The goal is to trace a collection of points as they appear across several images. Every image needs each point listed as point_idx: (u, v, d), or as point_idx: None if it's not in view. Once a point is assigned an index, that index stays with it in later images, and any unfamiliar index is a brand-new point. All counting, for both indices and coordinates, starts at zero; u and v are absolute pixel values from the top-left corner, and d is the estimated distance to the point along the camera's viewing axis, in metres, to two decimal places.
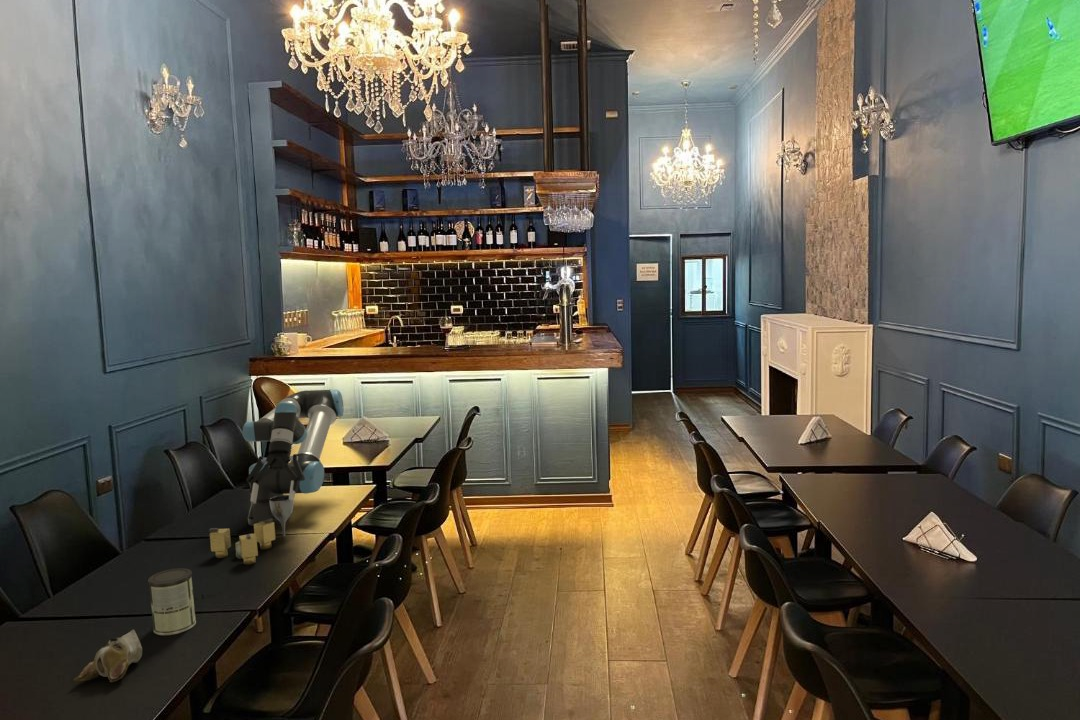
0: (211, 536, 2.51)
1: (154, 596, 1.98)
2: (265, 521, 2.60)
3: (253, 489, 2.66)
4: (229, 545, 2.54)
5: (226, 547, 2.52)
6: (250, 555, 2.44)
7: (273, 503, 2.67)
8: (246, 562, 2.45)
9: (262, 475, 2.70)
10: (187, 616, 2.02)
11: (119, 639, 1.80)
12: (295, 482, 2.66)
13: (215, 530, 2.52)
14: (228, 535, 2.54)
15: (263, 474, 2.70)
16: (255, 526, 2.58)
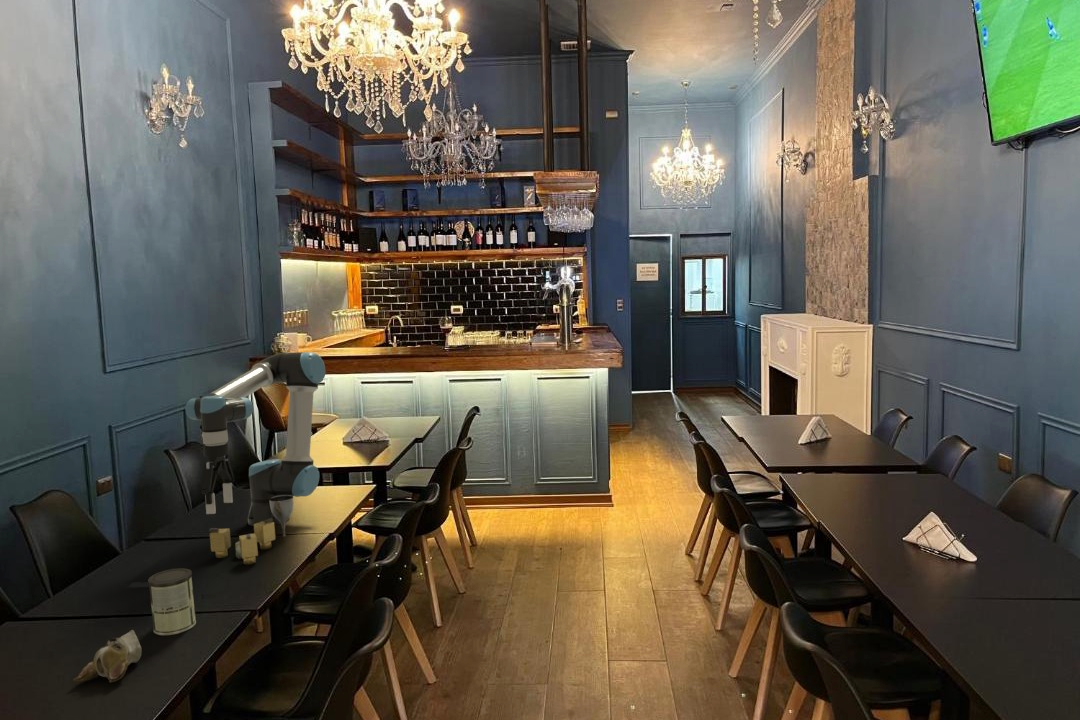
0: (211, 536, 2.51)
1: (154, 596, 1.98)
2: (265, 521, 2.60)
3: None
4: (229, 545, 2.54)
5: (226, 547, 2.52)
6: (250, 555, 2.44)
7: (273, 503, 2.67)
8: (246, 562, 2.45)
9: (223, 475, 2.57)
10: (187, 616, 2.02)
11: (118, 639, 1.80)
12: None
13: (215, 530, 2.52)
14: (228, 535, 2.54)
15: (223, 475, 2.56)
16: (255, 526, 2.58)
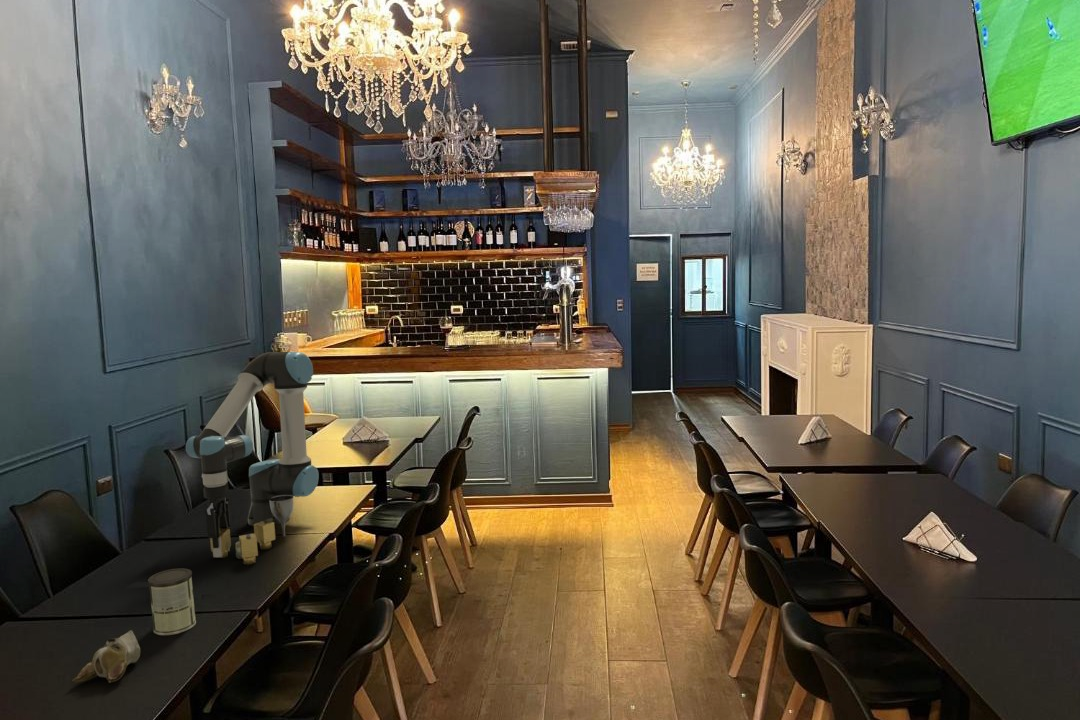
0: None
1: (154, 596, 1.98)
2: (265, 521, 2.60)
3: None
4: (229, 545, 2.54)
5: (226, 547, 2.52)
6: (250, 555, 2.44)
7: (273, 503, 2.67)
8: (246, 562, 2.45)
9: (221, 520, 2.55)
10: (187, 616, 2.02)
11: (117, 640, 1.80)
12: None
13: None
14: (228, 535, 2.54)
15: (221, 519, 2.55)
16: (255, 526, 2.58)
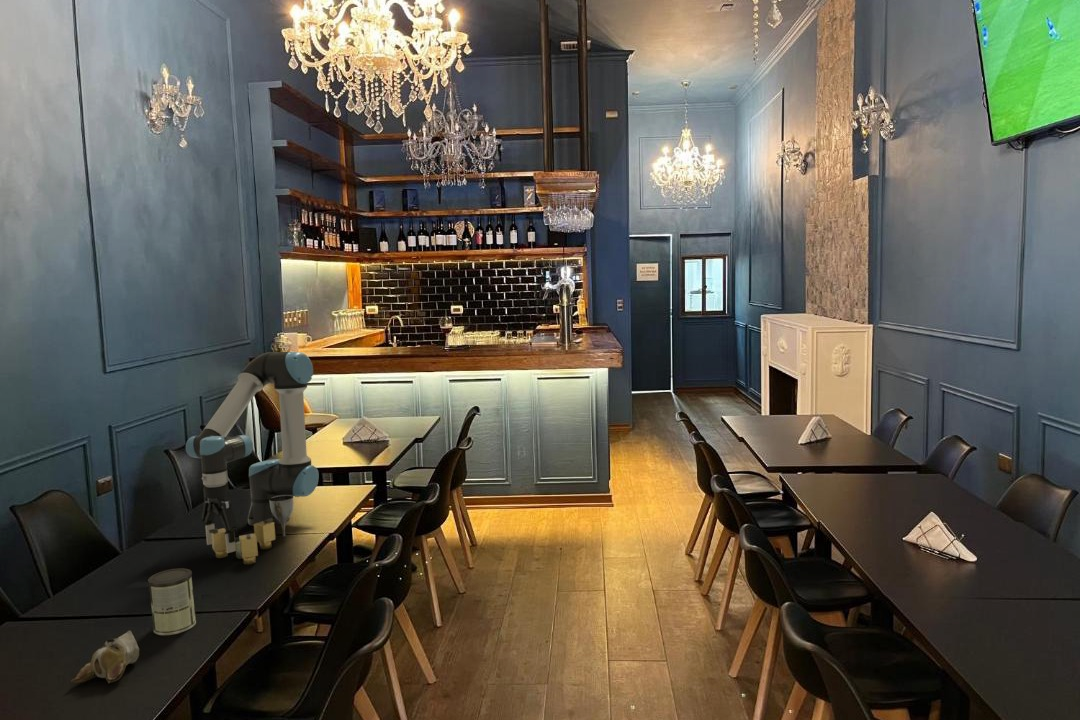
0: (215, 536, 2.50)
1: (154, 596, 1.98)
2: (265, 521, 2.60)
3: (206, 532, 2.56)
4: None
5: None
6: (250, 555, 2.44)
7: (273, 503, 2.67)
8: (246, 562, 2.45)
9: (211, 516, 2.56)
10: (187, 616, 2.02)
11: (116, 640, 1.80)
12: (229, 534, 2.47)
13: (216, 530, 2.52)
14: None
15: (211, 516, 2.55)
16: (255, 526, 2.58)
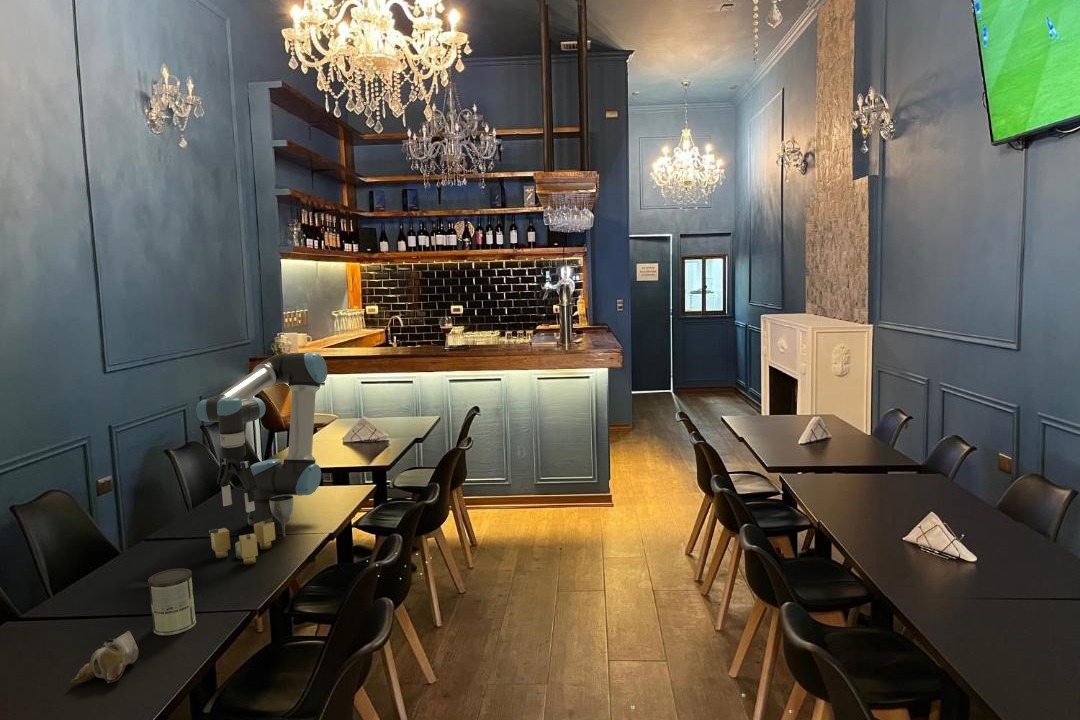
0: (216, 536, 2.50)
1: (154, 596, 1.98)
2: (265, 521, 2.60)
3: (222, 494, 2.58)
4: None
5: None
6: (250, 555, 2.44)
7: (273, 503, 2.67)
8: (246, 562, 2.45)
9: (227, 478, 2.57)
10: (187, 616, 2.02)
11: (115, 640, 1.80)
12: (248, 494, 2.50)
13: (216, 531, 2.52)
14: None
15: (228, 477, 2.57)
16: (255, 526, 2.58)
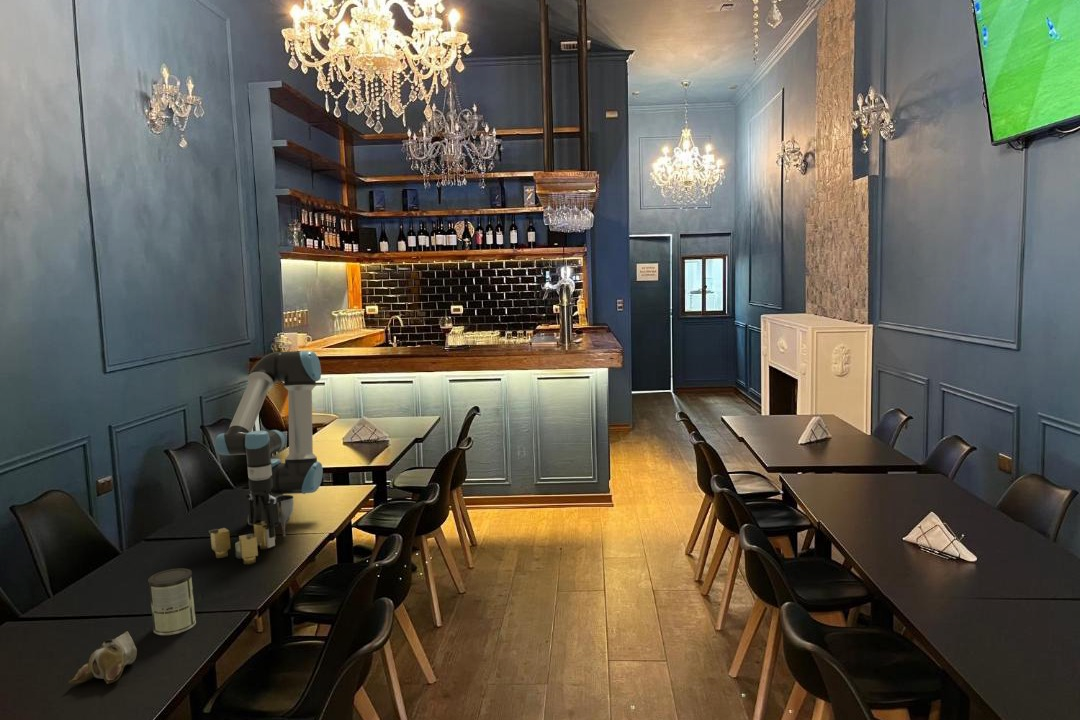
0: (216, 536, 2.50)
1: (154, 596, 1.98)
2: (265, 521, 2.60)
3: None
4: None
5: None
6: (250, 555, 2.44)
7: None
8: (246, 562, 2.45)
9: (258, 514, 2.60)
10: (187, 616, 2.02)
11: (114, 641, 1.79)
12: (269, 530, 2.57)
13: (216, 531, 2.52)
14: None
15: (258, 513, 2.60)
16: (255, 526, 2.58)
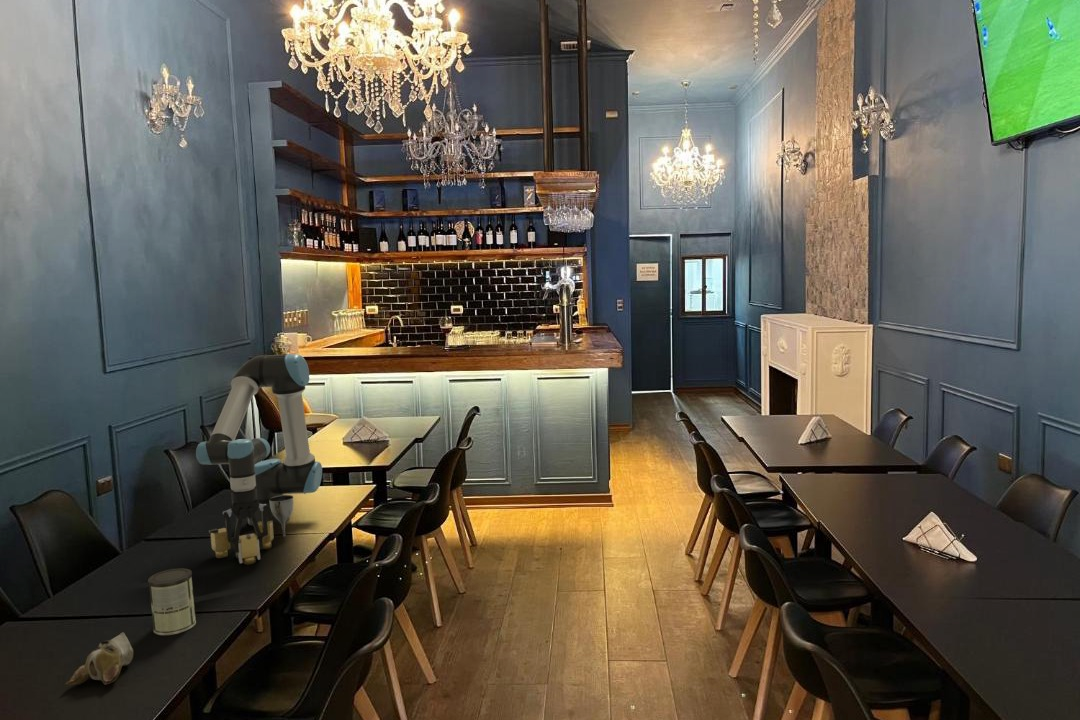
0: (216, 536, 2.50)
1: (154, 596, 1.98)
2: None
3: (240, 550, 2.44)
4: None
5: None
6: (250, 555, 2.44)
7: (273, 503, 2.67)
8: (246, 562, 2.45)
9: (239, 529, 2.44)
10: (187, 616, 2.02)
11: (110, 642, 1.79)
12: (260, 540, 2.47)
13: (216, 531, 2.52)
14: None
15: None
16: None
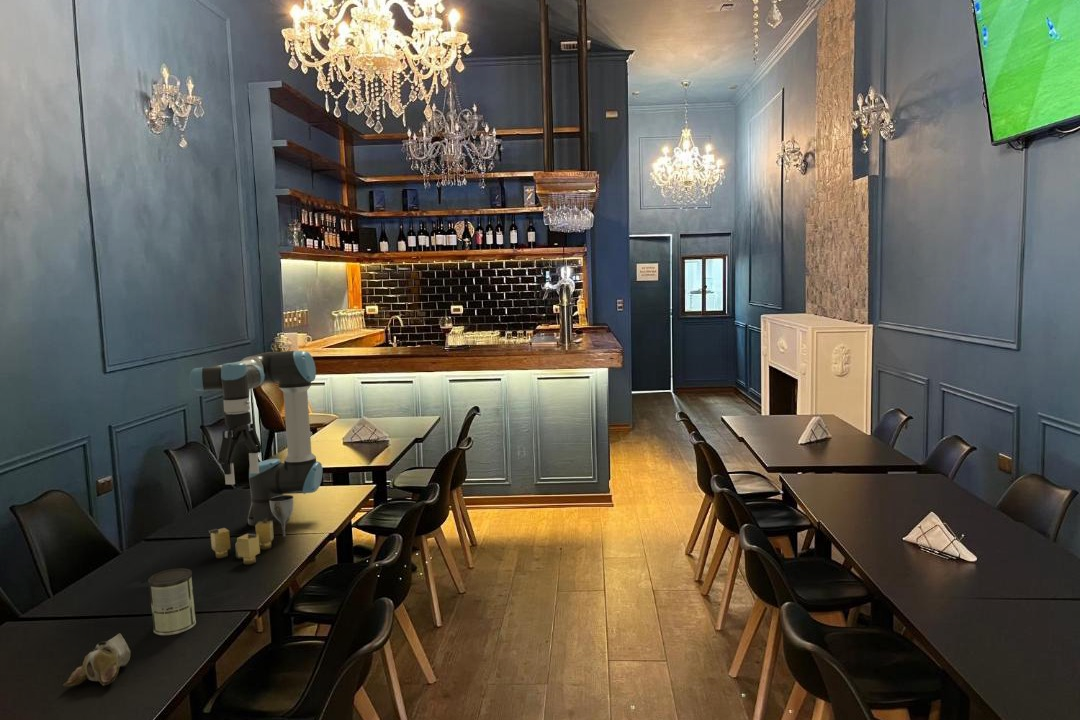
0: (216, 536, 2.50)
1: (154, 596, 1.98)
2: (264, 521, 2.60)
3: (233, 471, 2.37)
4: None
5: None
6: (255, 554, 2.45)
7: (273, 503, 2.67)
8: (250, 562, 2.45)
9: None
10: (187, 616, 2.02)
11: (108, 643, 1.78)
12: None
13: (216, 531, 2.52)
14: None
15: None
16: (257, 527, 2.57)
